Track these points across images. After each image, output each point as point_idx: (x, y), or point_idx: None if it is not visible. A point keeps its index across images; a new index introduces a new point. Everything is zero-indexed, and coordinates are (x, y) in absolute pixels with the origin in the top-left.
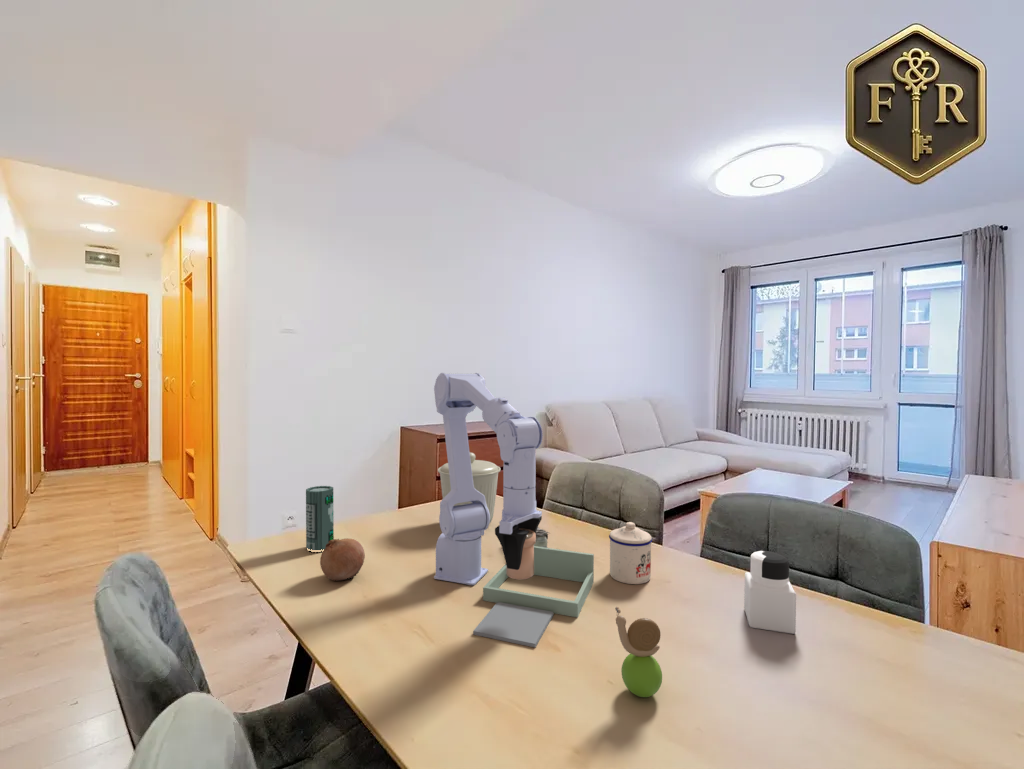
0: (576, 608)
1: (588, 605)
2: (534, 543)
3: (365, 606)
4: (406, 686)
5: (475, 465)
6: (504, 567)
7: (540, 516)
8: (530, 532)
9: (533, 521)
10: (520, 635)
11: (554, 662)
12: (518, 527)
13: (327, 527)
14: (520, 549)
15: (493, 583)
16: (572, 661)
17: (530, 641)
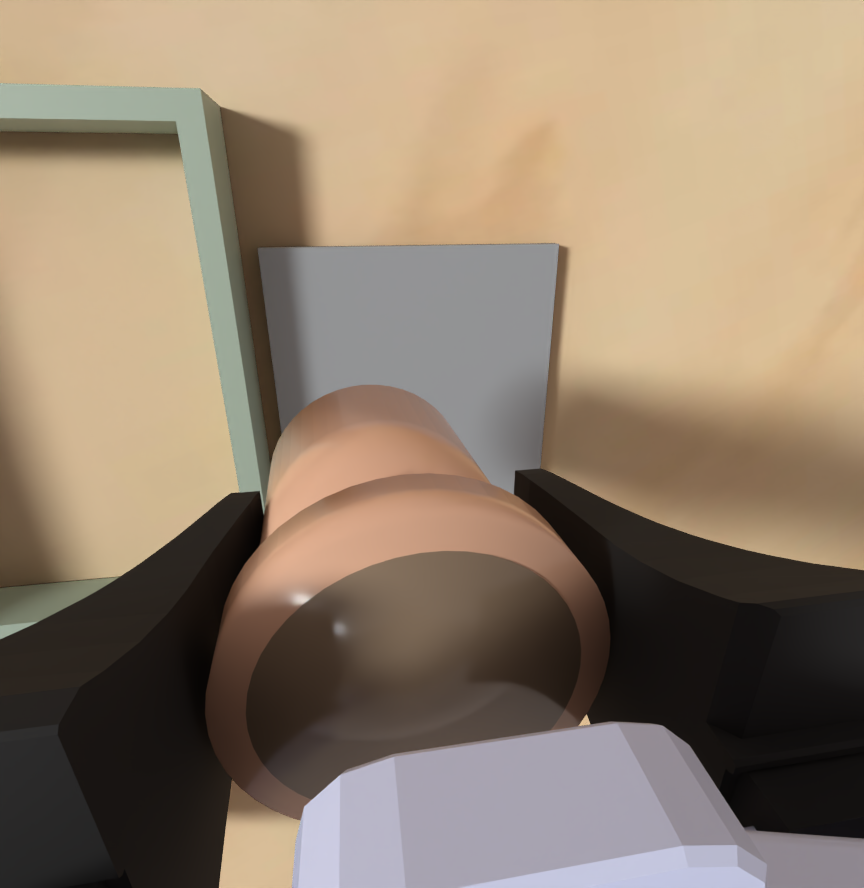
0: (207, 104)
1: (34, 66)
2: (427, 477)
3: None
4: (805, 522)
5: None
6: (5, 632)
7: (573, 733)
8: (308, 625)
9: (126, 755)
10: (517, 327)
11: (632, 129)
12: (210, 801)
13: None
14: (677, 532)
15: None
16: (609, 43)
17: (547, 271)
